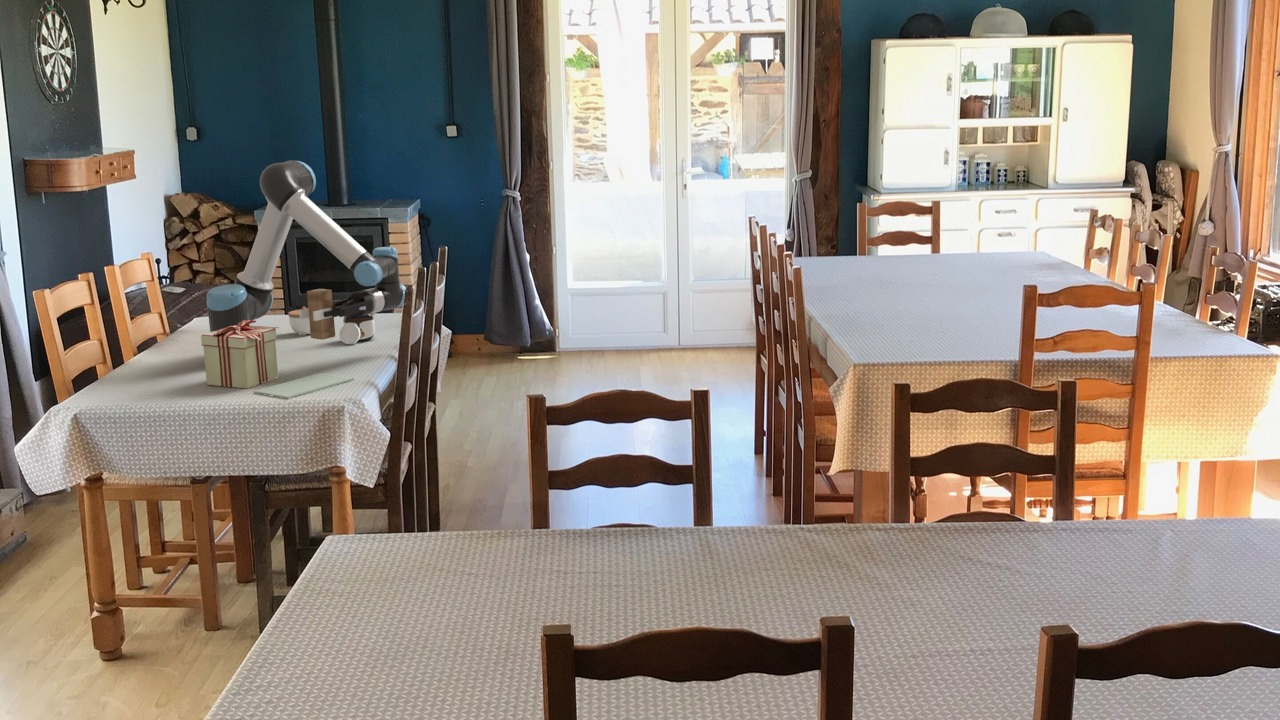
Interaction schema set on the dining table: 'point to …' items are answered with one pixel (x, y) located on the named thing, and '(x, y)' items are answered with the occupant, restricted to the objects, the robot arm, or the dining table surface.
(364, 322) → the spread jar
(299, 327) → the lidded jar
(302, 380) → the mat
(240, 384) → the gift box
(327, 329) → the walnut block
